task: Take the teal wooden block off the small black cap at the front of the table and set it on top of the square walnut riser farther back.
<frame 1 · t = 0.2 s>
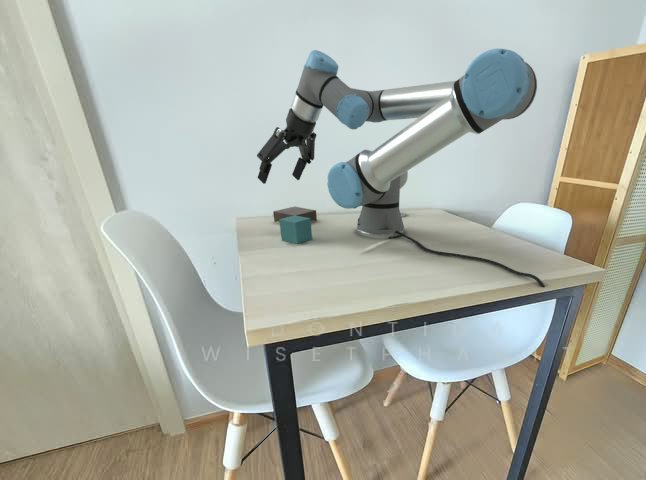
hand: (279, 179, 109), 15 cm above the table, tool tilted 35°, fingers open, 13 cm apart
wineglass: (396, 215, 138), on the table
cap: (297, 243, 102), on the table
riser: (296, 222, 123), on the table
block: (297, 239, 102), point 1 cm above the table, touching cap
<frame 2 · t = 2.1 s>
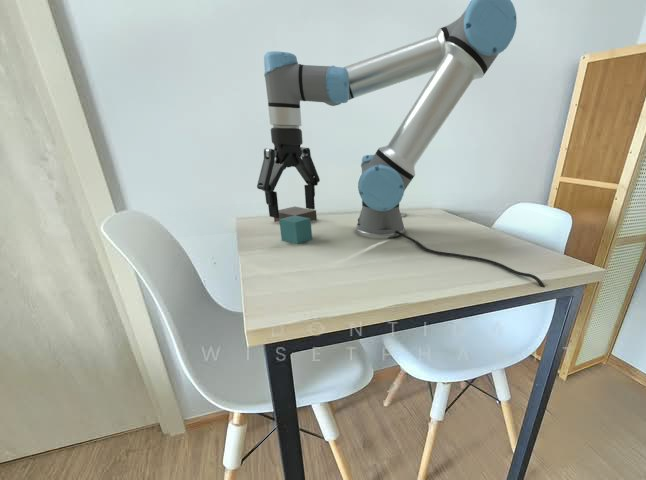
hand: (293, 212, 98), 9 cm above the table, tool pointing down, fingers open, 13 cm apart
nothing on the table moved.
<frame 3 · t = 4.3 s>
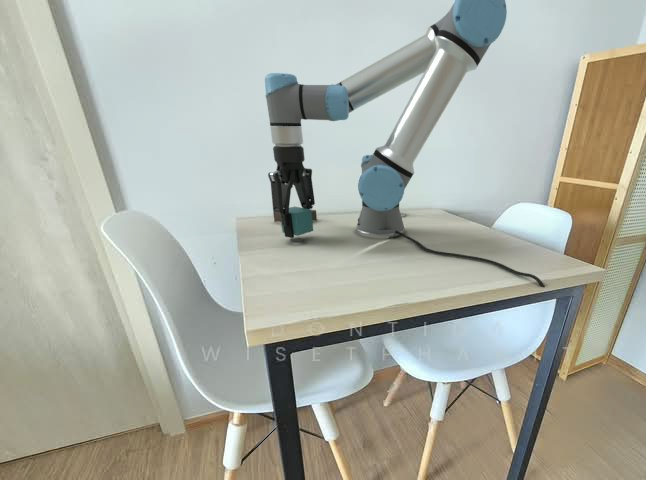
hand: (298, 233, 101), 3 cm above the table, tool pointing down, fingers closed on block, 6 cm apart
block: (298, 231, 101), point 3 cm above the table, touching gripper
everything else where it was.
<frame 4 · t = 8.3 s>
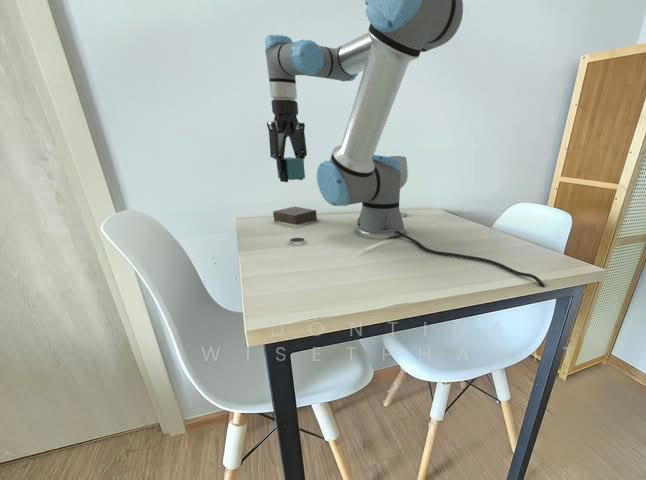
hand: (291, 180, 117), 14 cm above the table, tool pointing down, fingers closed on block, 6 cm apart
block: (291, 178, 116), point 15 cm above the table, touching gripper
everything else where it was.
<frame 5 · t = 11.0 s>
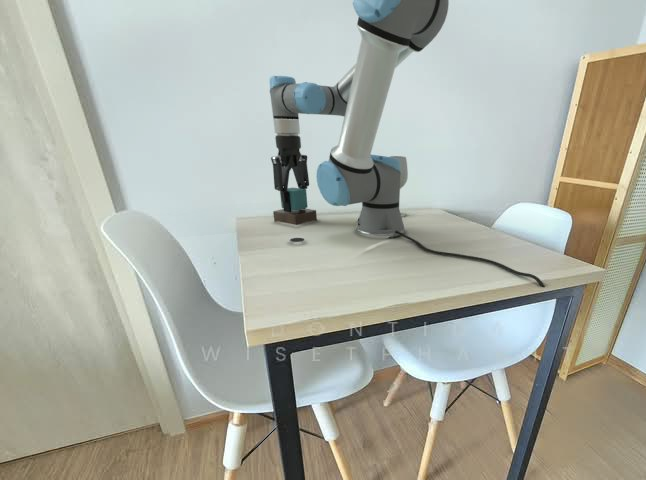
hand: (294, 209, 121), 4 cm above the table, tool pointing down, fingers closed on block, 6 cm apart
block: (294, 207, 120), point 5 cm above the table, touching gripper
everything else where it was.
when the fingers open (4 cm above the table, at t = 12.2 s): block drops 1 cm, resting on riser.
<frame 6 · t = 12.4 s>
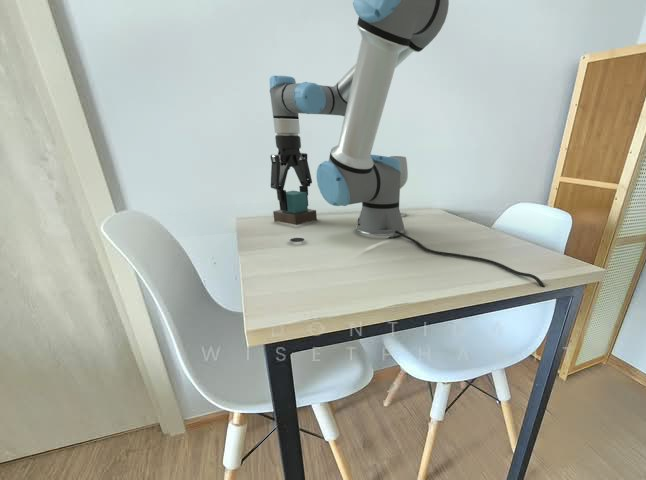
hand: (294, 207, 121), 5 cm above the table, tool pointing down, fingers open, 9 cm apart
block: (295, 210, 121), point 4 cm above the table, touching riser
everything else where it was.
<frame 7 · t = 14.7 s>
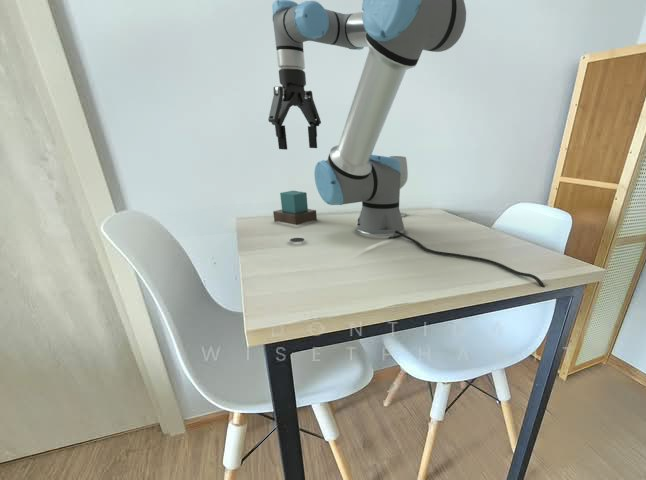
hand: (299, 148, 113), 24 cm above the table, tool pointing down, fingers open, 13 cm apart
nothing on the table moved.
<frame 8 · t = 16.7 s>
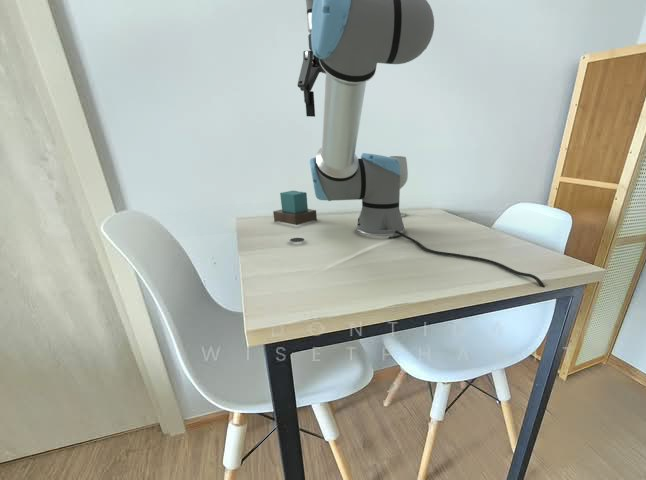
hand: (325, 117, 112), 33 cm above the table, tool pointing down, fingers open, 13 cm apart
nothing on the table moved.
at the end: block 0.1 cm off-centre on the riser, point 4.0 cm above the riser's base; block tilted 0°; the gripper is holding nothing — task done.
